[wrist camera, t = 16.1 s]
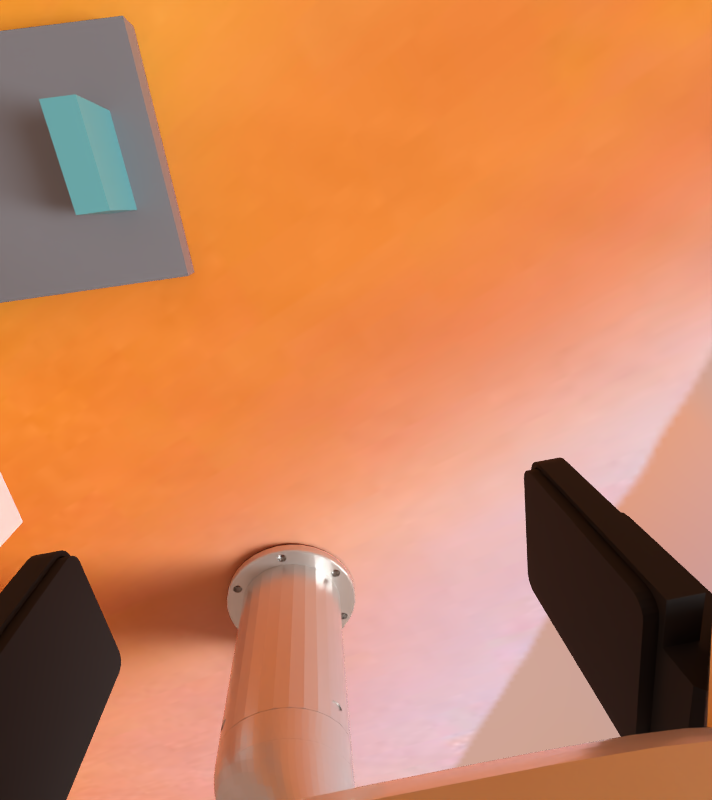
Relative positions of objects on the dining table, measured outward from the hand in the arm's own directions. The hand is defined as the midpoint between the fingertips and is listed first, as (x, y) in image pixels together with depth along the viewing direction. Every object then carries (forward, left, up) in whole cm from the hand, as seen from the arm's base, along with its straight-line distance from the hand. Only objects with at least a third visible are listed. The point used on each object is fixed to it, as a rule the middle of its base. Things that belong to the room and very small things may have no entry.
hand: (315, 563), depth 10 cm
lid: (+11, +18, -31) cm, 38 cm away
